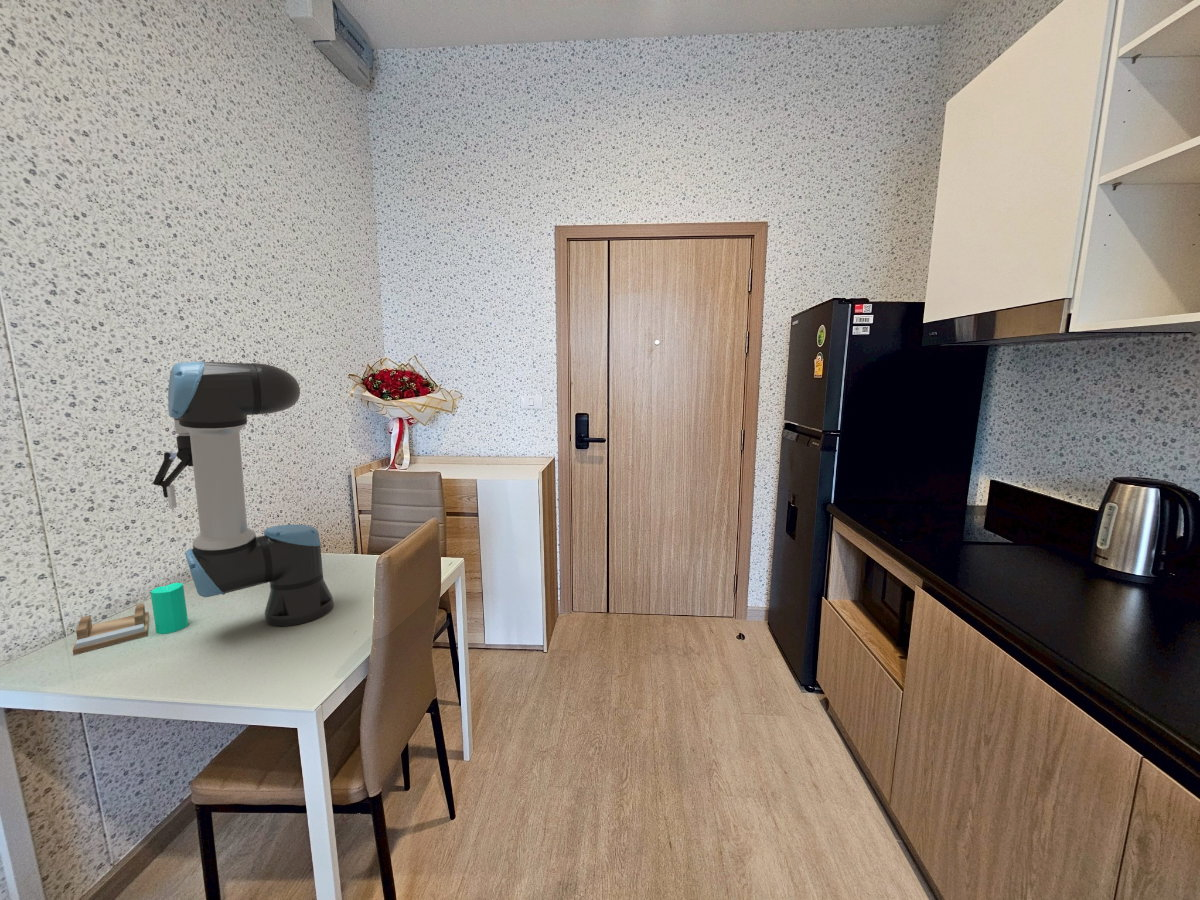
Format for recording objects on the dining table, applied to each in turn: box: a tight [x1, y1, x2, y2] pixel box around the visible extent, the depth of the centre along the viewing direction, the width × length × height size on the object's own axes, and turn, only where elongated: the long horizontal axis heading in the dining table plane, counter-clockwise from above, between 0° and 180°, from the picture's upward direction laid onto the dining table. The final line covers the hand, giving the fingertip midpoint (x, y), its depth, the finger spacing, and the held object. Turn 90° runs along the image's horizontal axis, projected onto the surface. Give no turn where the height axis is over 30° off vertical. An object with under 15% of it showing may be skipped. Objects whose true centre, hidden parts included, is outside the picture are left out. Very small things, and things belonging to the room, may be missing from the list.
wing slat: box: [75, 624, 144, 648], centre depth 111 cm, size 2×11×1 cm, turn 132°
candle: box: [150, 581, 189, 635], centre depth 117 cm, size 6×6×12 cm
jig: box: [72, 602, 150, 656], centre depth 114 cm, size 14×12×4 cm
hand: (202, 505), depth 141 cm, fingers open, 13 cm apart
